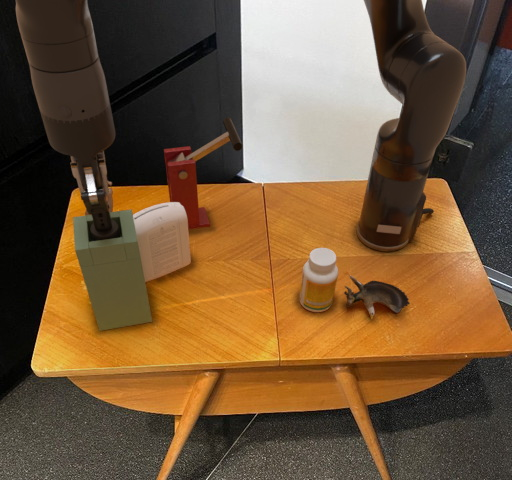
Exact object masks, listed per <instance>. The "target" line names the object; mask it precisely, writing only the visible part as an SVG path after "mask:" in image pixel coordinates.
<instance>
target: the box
mask: <svg viewBox="0 0 512 480" xmlns="http://www.w3.org/2000/svg"><path fill="white" fill-rule="evenodd" d="M133 215H134V213H133V209H125V210H117V211H116V210H115V211H113V212H110V216H111V220H113V221H115V222H116V223H117V225H118V229H119V234H120V238H113V239H106V240H99V241H93V238H92V234H91V230H90V229H91V226H92V224H93V223H94V222H93V218H92V215H86V216H85V215H80V216H73V217H72V225H73V227H72V228H73V239H74V240H73V241H74V251H75V255H76V259H77V262H78V265H79V268H80V271H81V274H82V277H83V281H84V285H85V288H86V291H87V295H88V297H89V301H90V304H91V308H92V310H93V314H94V317H95V320H96V323H97V327H98V330H99V332H100V331H101V332H102V331H106V330H107V331H108V330H113V329H120V328H124V327H131V326H137V325H142V324H148V323H153V317H152V311H151V307H150V306H151V305H150V300H149V295H148V289H147V282H145V278H144V272H143V267H142V262H141V256H140V251H139V246H138V240H137V235H136V229H135V224H134V219H133Z"/></svg>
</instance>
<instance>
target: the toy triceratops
mask: <svg viewBox="0 0 512 480" xmlns="http://www.w3.org/2000/svg"><path fill="white" fill-rule="evenodd" d="M348 277H349V279H350V280H351V282H353V284H354V285H355V286H356V287H357V289H358V291H357V292H355V293H354V291H353V289H352V288H350V287H349V286H347V285H344V288H345V289H346V290H347V291H344V295H345V297H346V304H345V307H346V308H347V307H352V306H353V305H354V304H356V303H360V302H362V303H363V305H364V307H365V308H366V309H367V311H368V314H369V317H370V320H373V319H374V316H375V308H374V304H375V303H379V304H382V305H383V306H385V307H387V308H389V309H390V310H391V311H393V312H394V313H396V314H398V313H401V310H402V309H404V308H405V307H408V305H410V304H411V303H410V302H409V297H408V295H407V294H406V292H404V291H403V290H402V289H400V288H399V287H397V286H396V285H394V284H391V283H387V282H383V281H379V280H370V281H368V282H366V283H364V284H363V283H362V282H360V281H359V280H357V279H356V277H354V276H352V275H351V274H349V275H348Z"/></svg>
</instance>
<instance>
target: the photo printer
mask: <svg viewBox="0 0 512 480" xmlns="http://www.w3.org/2000/svg"><path fill="white" fill-rule="evenodd" d="M133 219H134V224H135V229H136V235H137V240H138V246H139V251H140V256H141V262H142V267H143V272H144V278H145V283H147V282H150V281H153V280H156V279H158V278H161V277H163V276H166V275H168V274H171V273H174V272H175V271H178V270H181V269H183V268H185V267H188V266H189V265H190V264H191V263H192V258H191V247H190V234H189V229H188V219H187V215H186V211H185V209H184V207H183V206H182V205H181V204H180V203H179V202H170V201H169V202H162V203H158V204H154V205H151V206H148V207H146V208H143V209H141V210H139V211H137V212H135V213H133Z"/></svg>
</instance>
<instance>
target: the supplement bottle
mask: <svg viewBox="0 0 512 480" xmlns="http://www.w3.org/2000/svg"><path fill="white" fill-rule="evenodd" d="M338 276H339V268H338V266H337V254H336V253H335V252H334V250H332V249H330V248H327V247H315V248H314V249H312V250H311V251H310V253H309V254H308V260H307V261H306V262H305V263H304V265H303V266H302V273H301V282H300V289H299V297H298V299H299V303H300V305H301V307H303V308H304V309H305V310H307V311H310V312H313V313H323V312H325V311H327V310H328V309H330V308H331V306H332V305H333V302H334V297H335V291H336V286H337V281H338V278H339V277H338Z"/></svg>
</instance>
